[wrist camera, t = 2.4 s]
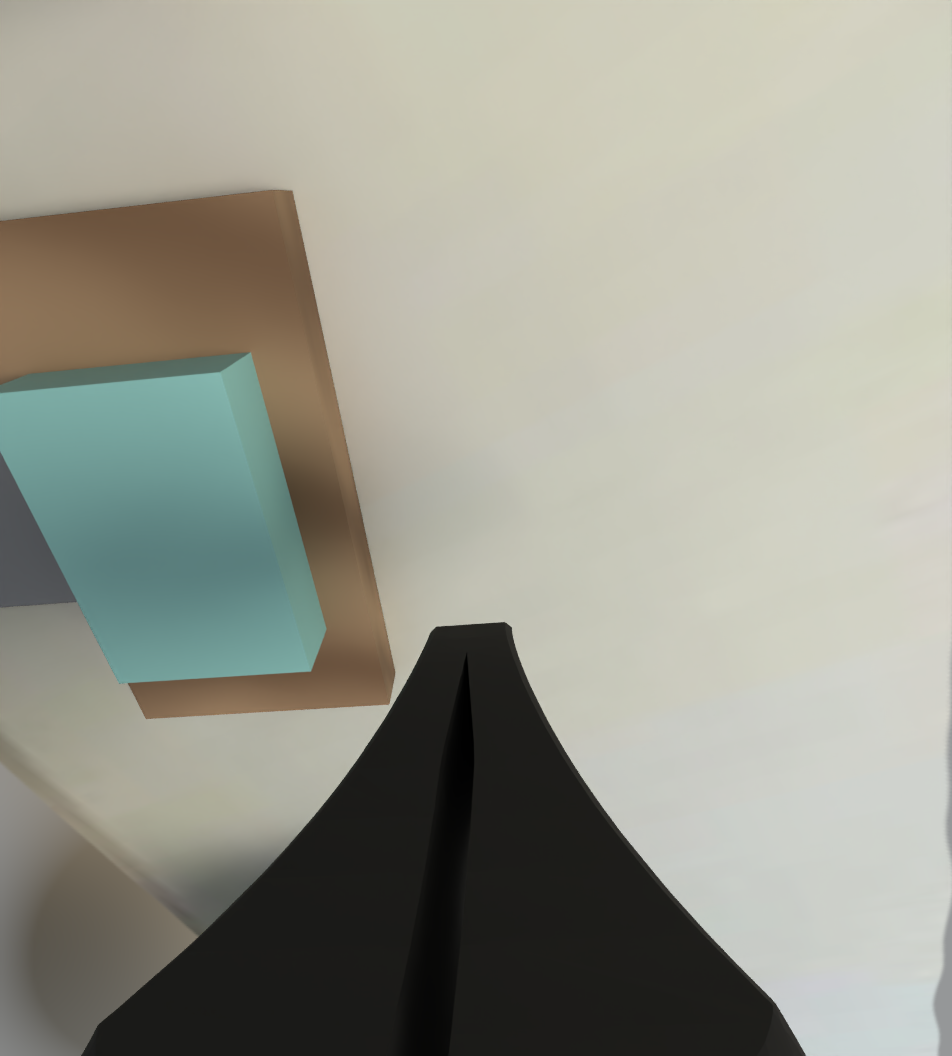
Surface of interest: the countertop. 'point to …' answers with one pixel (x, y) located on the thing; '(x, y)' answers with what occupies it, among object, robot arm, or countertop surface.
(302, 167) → the countertop surface
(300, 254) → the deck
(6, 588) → the mat
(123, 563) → the teal rectangular block
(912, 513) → the countertop surface
